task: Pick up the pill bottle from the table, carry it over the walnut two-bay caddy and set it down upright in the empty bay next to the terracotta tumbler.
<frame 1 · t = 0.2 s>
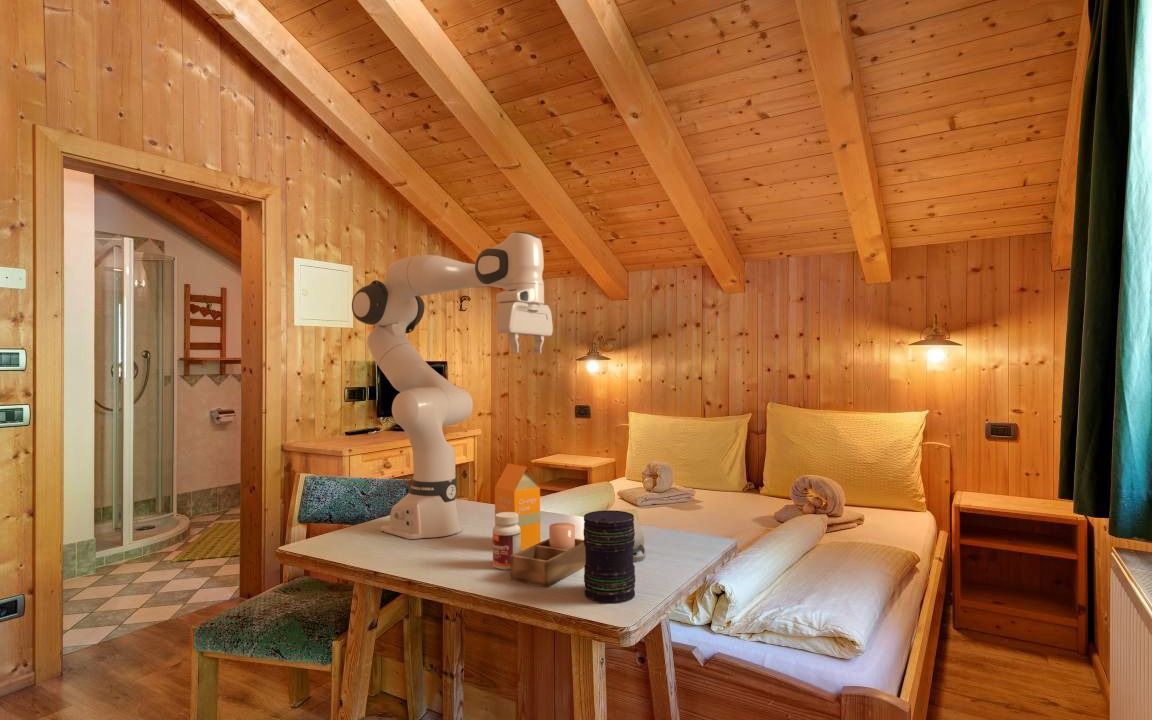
hand: (526, 353, 153), 47 cm above the table, tool pointing down, fingers open, 8 cm apart
orange juice: (517, 546, 153), on the table
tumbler: (562, 562, 137), point 1 cm above the table, touching caddy
caddy: (552, 571, 133), on the table
ceramic mug: (626, 557, 144), on the table
pill bottle: (506, 566, 137), on the table
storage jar: (609, 595, 119), on the table
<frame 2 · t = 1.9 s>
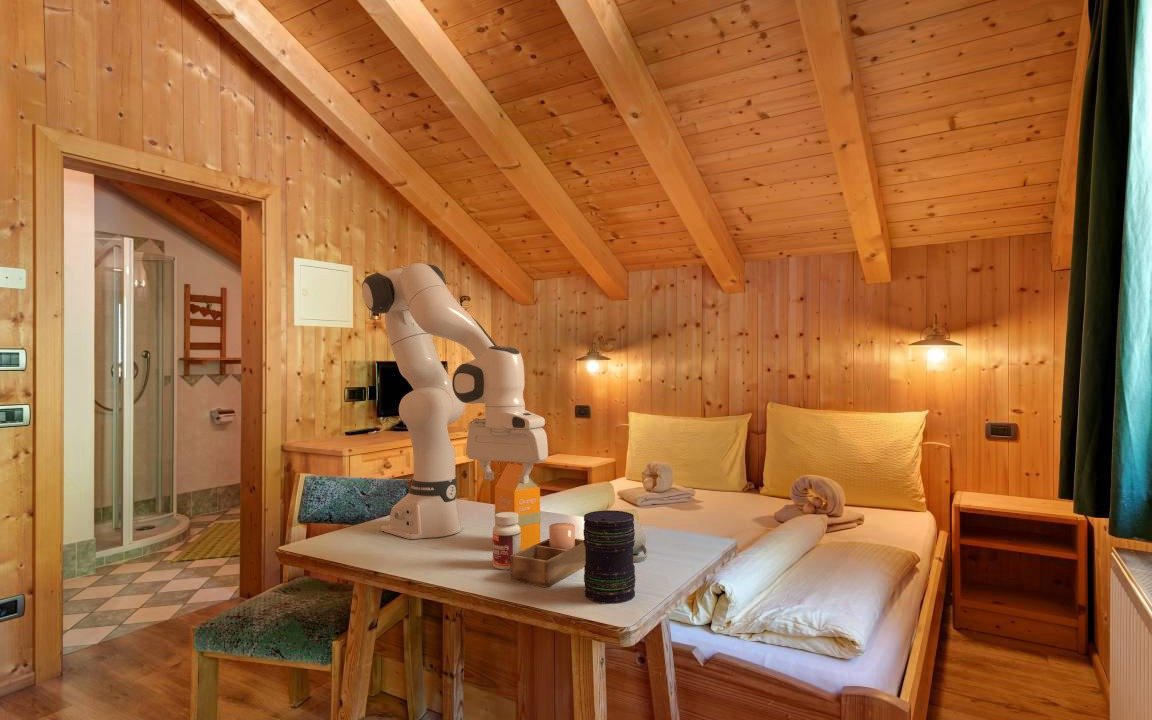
hand: (506, 481, 138), 19 cm above the table, tool pointing down, fingers open, 8 cm apart
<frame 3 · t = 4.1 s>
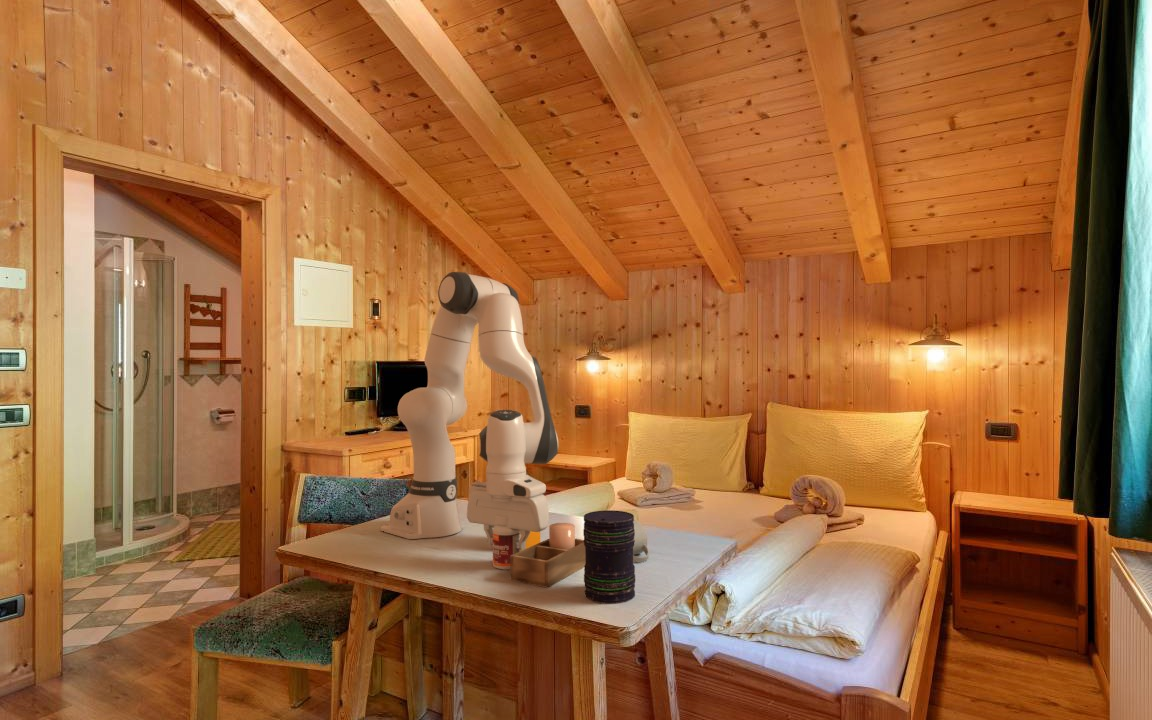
hand: (506, 546, 137), 4 cm above the table, tool pointing down, fingers closed on pill bottle, 6 cm apart
pill bottle: (506, 566, 137), on the table, touching gripper
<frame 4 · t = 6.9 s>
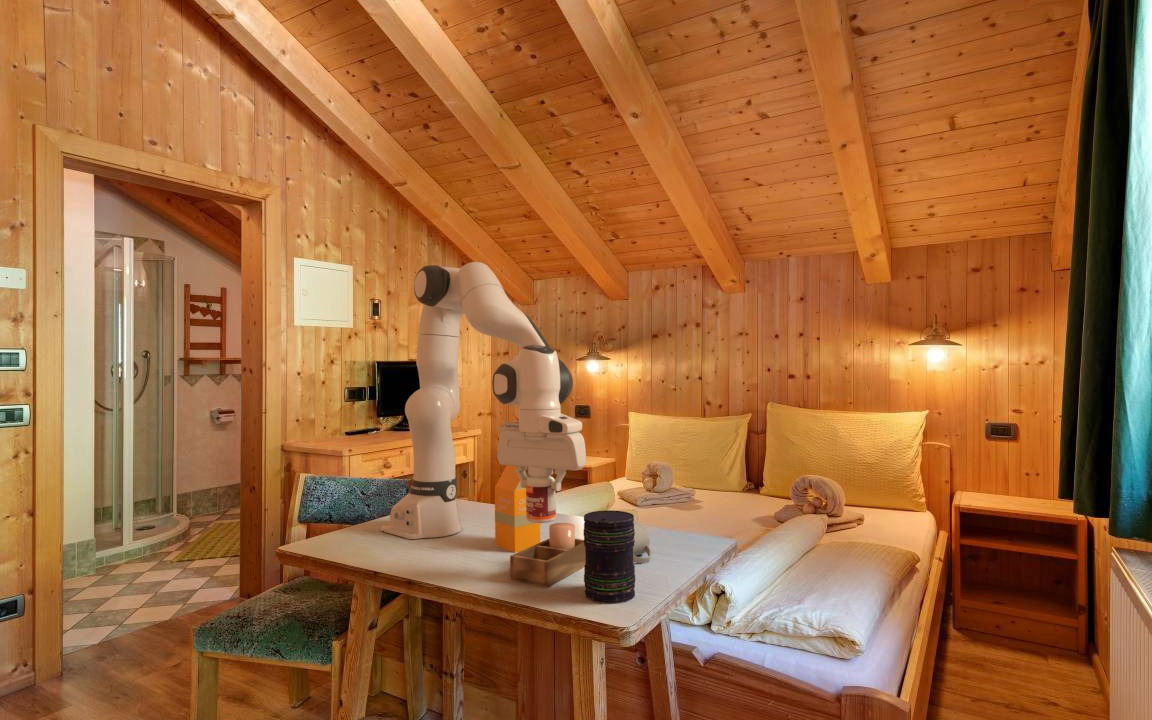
hand: (540, 489, 130), 18 cm above the table, tool pointing down, fingers closed on pill bottle, 6 cm apart
pill bottle: (541, 520, 130), point 12 cm above the table, touching gripper
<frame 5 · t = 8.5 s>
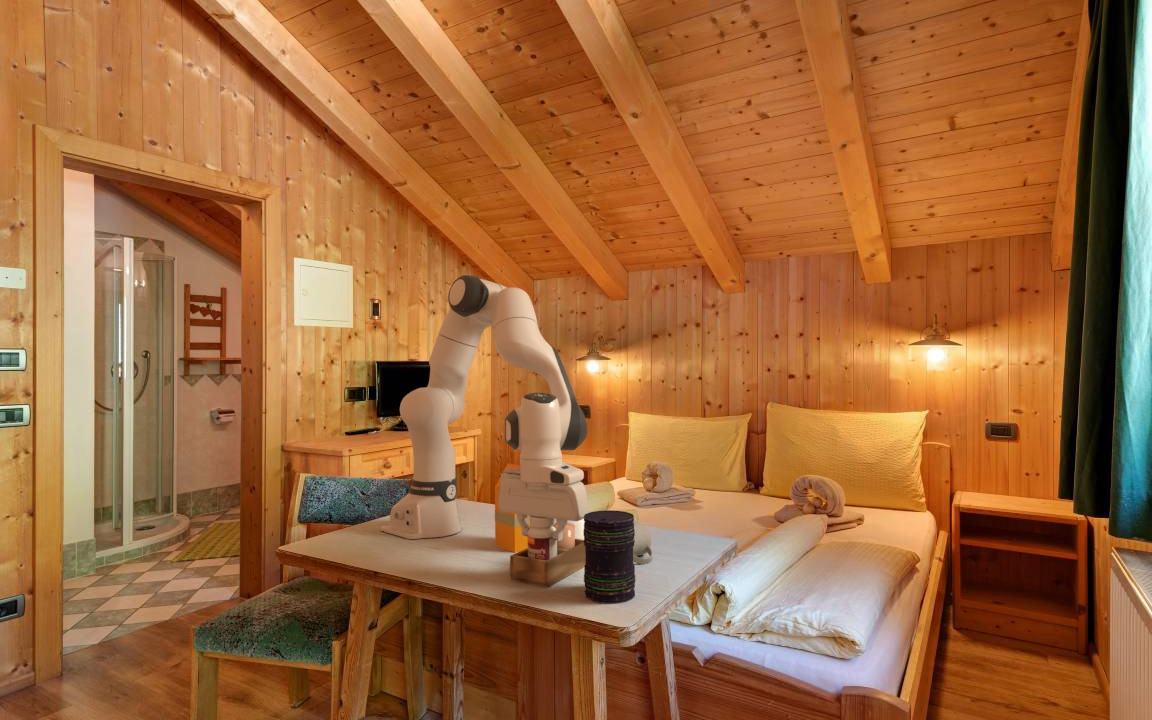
hand: (542, 537, 130), 8 cm above the table, tool pointing down, fingers closed on pill bottle, 6 cm apart
pill bottle: (542, 571, 130), point 1 cm above the table, touching gripper
when the fingers open (7 cm above the table, at t = 9.7 s): pill bottle stays where it is, resting on caddy.
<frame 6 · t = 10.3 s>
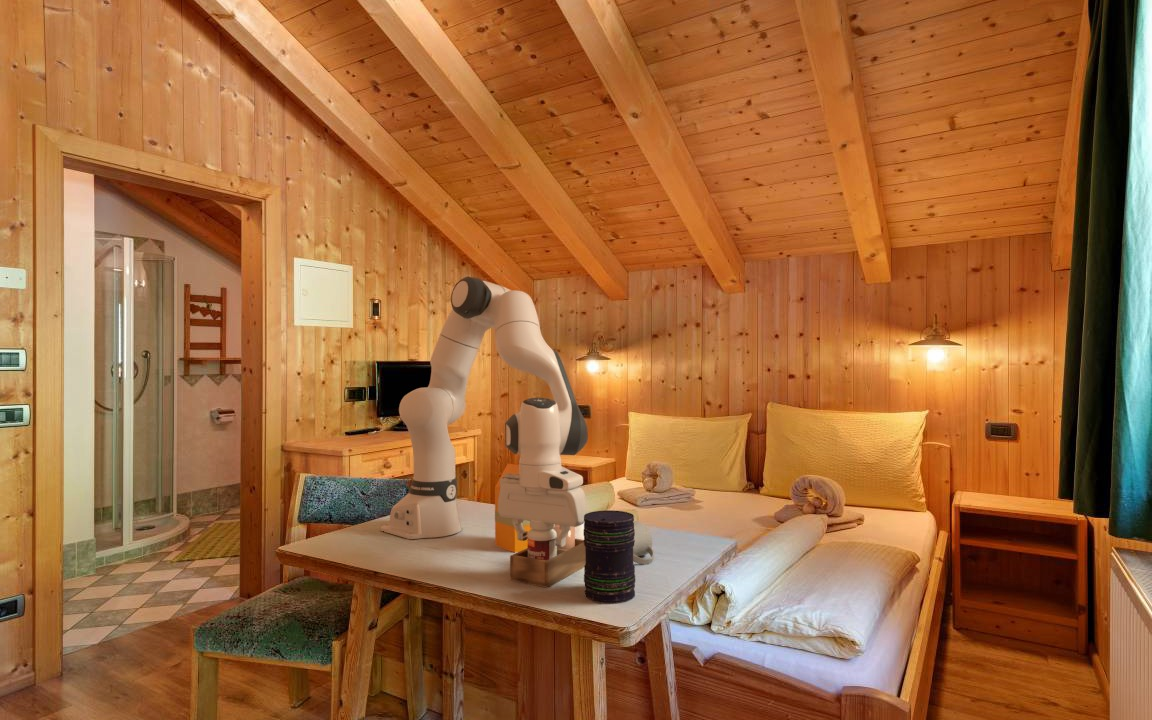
hand: (541, 542, 129), 7 cm above the table, tool pointing down, fingers open, 8 cm apart
pill bottle: (542, 573, 130), point 1 cm above the table, touching caddy
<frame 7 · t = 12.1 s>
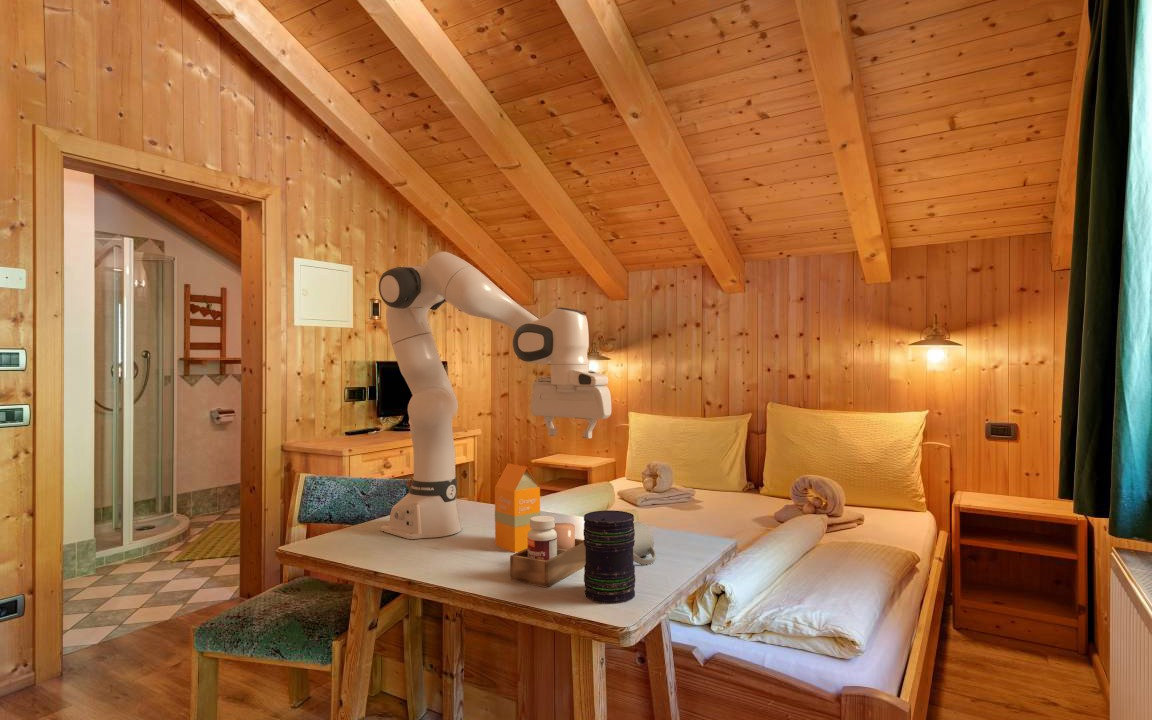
hand: (569, 437, 144), 28 cm above the table, tool pointing down, fingers open, 8 cm apart
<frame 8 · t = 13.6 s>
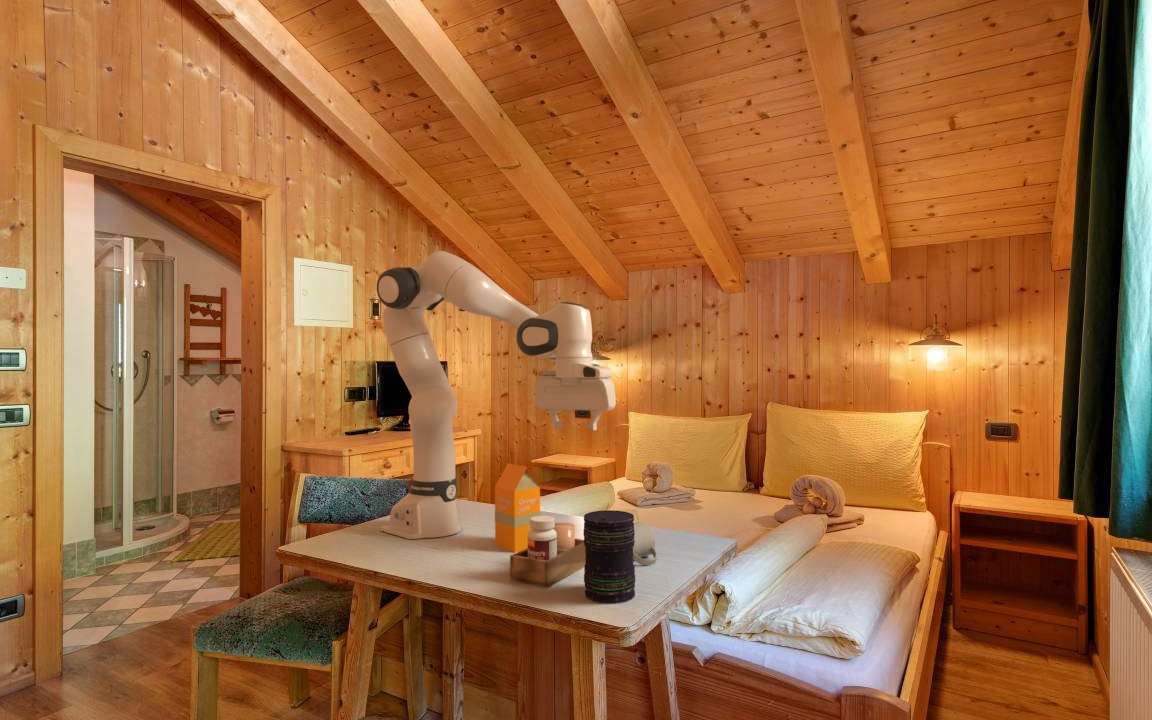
hand: (574, 429, 146), 29 cm above the table, tool pointing down, fingers open, 8 cm apart
at the end: pill bottle inside the target area on the caddy (0.6 cm from its centre), point 0.6 cm above the caddy's base; pill bottle tilted 0°; the gripper is holding nothing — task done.
